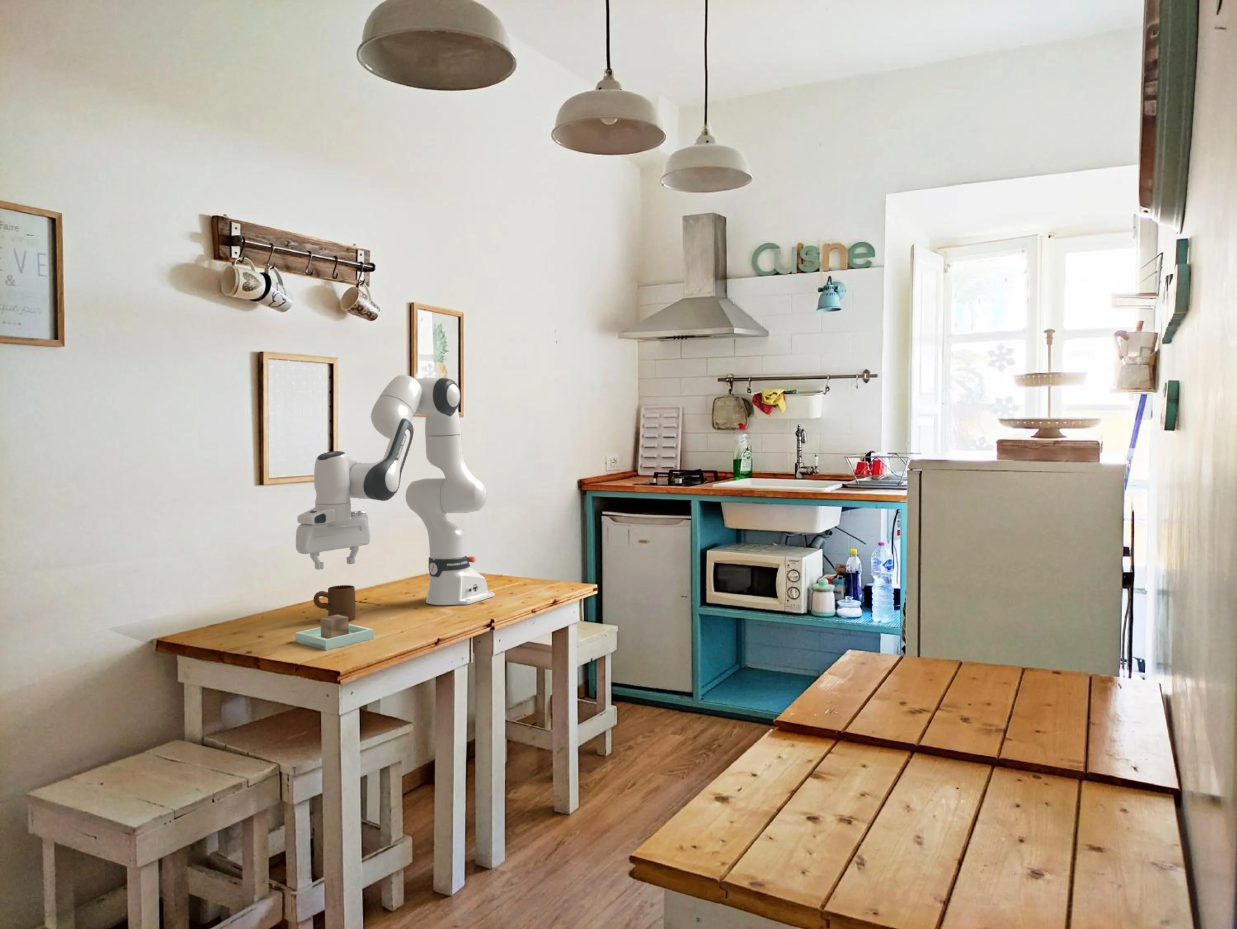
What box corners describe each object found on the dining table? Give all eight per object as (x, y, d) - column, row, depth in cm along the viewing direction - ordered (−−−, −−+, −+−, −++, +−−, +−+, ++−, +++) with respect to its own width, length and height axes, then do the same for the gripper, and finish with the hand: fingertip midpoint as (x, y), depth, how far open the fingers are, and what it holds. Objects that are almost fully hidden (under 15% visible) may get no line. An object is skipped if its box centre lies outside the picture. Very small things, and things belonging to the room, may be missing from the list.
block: (337, 633, 228) (337, 614, 227) (348, 636, 224) (348, 617, 224) (320, 637, 224) (320, 618, 223) (331, 639, 220) (331, 620, 220)
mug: (319, 626, 240) (318, 593, 239) (309, 622, 245) (308, 589, 245) (360, 619, 248) (359, 587, 247) (349, 615, 253) (348, 583, 253)
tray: (342, 631, 234) (342, 622, 234) (373, 638, 225) (373, 629, 225) (295, 642, 223) (295, 632, 223) (326, 650, 214) (325, 640, 214)
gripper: (360, 509, 234) (362, 559, 235) (291, 517, 218) (293, 571, 219) (374, 510, 230) (376, 561, 231) (305, 518, 214) (307, 573, 215)
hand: (335, 566), depth 225 cm, fingers open, 8 cm apart
